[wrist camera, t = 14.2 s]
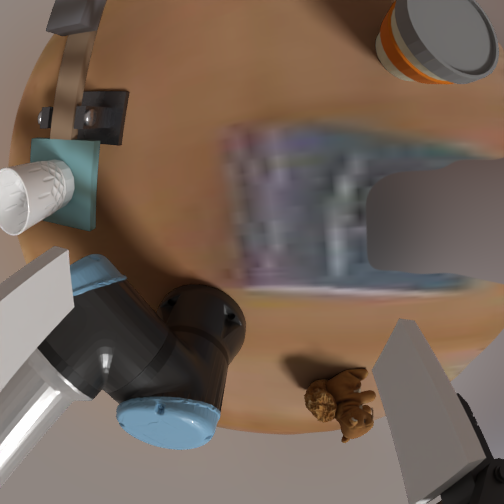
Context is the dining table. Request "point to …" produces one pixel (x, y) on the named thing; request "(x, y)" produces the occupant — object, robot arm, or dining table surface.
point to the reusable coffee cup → (437, 41)
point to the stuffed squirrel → (342, 402)
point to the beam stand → (96, 116)
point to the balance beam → (73, 111)
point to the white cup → (33, 193)
